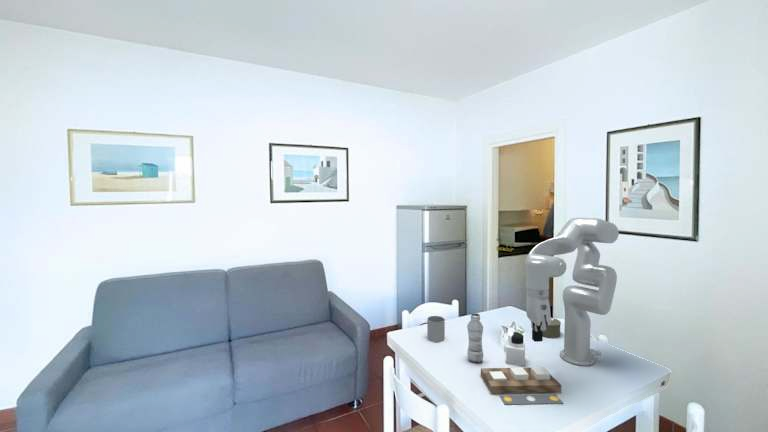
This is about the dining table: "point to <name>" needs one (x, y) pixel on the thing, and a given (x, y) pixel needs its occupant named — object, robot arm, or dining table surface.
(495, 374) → the button
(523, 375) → the button middle
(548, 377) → the button
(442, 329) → the cup
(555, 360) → the dining table surface
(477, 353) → the plastic bottle
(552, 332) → the can
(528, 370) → the button board
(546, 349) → the dining table surface
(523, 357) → the medicine bottle
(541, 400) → the pattern card
